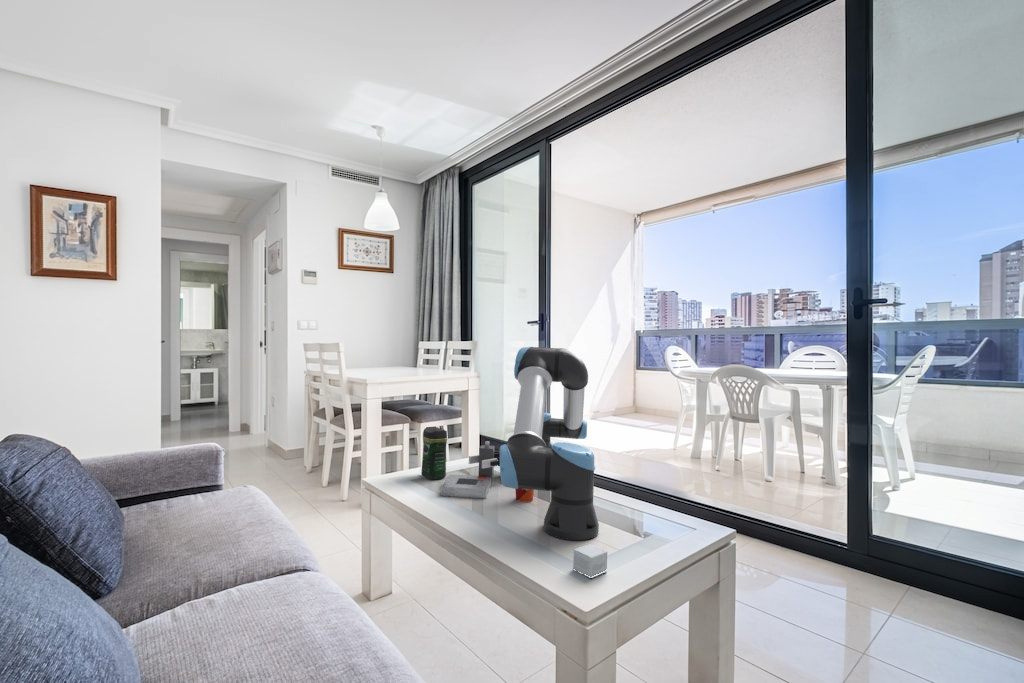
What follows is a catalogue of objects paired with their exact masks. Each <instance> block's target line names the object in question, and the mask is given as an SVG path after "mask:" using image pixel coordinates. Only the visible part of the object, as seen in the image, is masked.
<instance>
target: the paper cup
mask: <svg viewBox="0 0 1024 683" xmlns="http://www.w3.org/2000/svg"><path fill="white" fill-rule="evenodd" d="M514 489H515V488H514ZM534 491H535V490H532V489H520V488H518V489H515V500H516V501H518V502H519V503H520V502H521V503H530V502H532V501H533V500H534Z"/></svg>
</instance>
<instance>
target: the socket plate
mask: <svg viewBox="0 0 1024 683" xmlns="http://www.w3.org/2000/svg"><path fill="white" fill-rule="evenodd" d="M491 478H492V477H487V476H478V475H466V474H465V475H463V474H449V476H447V478H446V479H445V481H444V482H443V484H442V485H441V487H440V497H451V498H452V497H453V496H454V498H455V497H456V498H457V497H458V498H469V497H471V498H472V499H487V498H488V495H489V492H490V490H489V489H491V486H492V482H491Z"/></svg>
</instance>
